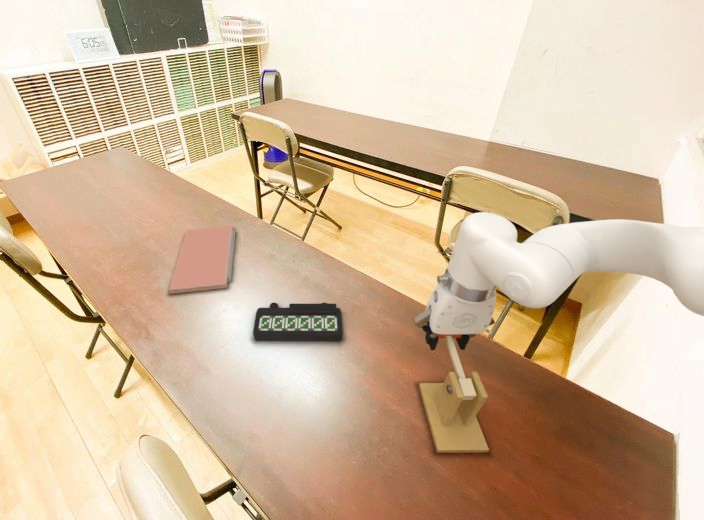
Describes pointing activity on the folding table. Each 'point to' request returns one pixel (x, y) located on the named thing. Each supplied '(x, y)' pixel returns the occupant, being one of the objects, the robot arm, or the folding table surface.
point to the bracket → (454, 415)
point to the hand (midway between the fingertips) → (445, 343)
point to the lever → (459, 367)
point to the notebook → (204, 260)
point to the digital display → (298, 323)
